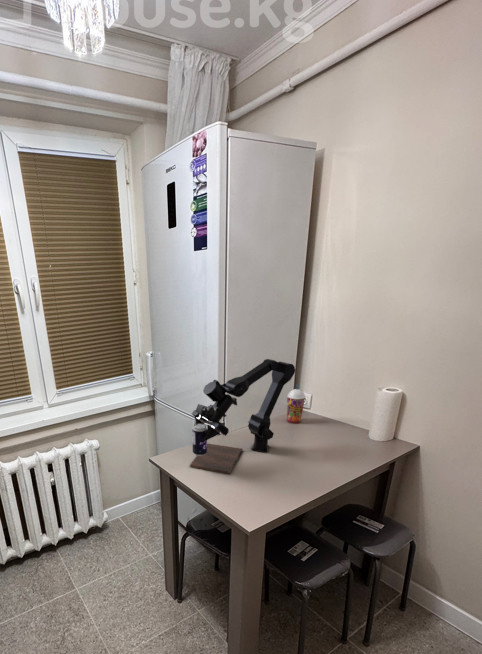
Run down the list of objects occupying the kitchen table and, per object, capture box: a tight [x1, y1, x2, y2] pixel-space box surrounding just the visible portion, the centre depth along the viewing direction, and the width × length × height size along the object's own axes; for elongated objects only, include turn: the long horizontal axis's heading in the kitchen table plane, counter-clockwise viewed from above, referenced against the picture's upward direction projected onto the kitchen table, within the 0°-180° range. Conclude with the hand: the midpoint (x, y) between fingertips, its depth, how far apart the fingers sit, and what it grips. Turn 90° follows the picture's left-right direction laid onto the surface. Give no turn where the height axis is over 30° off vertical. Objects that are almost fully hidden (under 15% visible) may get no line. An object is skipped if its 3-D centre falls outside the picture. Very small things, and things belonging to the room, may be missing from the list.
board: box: [189, 442, 243, 475], centre depth 150 cm, size 22×16×1 cm
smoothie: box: [286, 383, 306, 424], centre depth 181 cm, size 8×8×20 cm
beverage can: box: [191, 423, 208, 457], centre depth 142 cm, size 6×6×12 cm
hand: (196, 439), depth 141 cm, fingers closed on beverage can, 5 cm apart
